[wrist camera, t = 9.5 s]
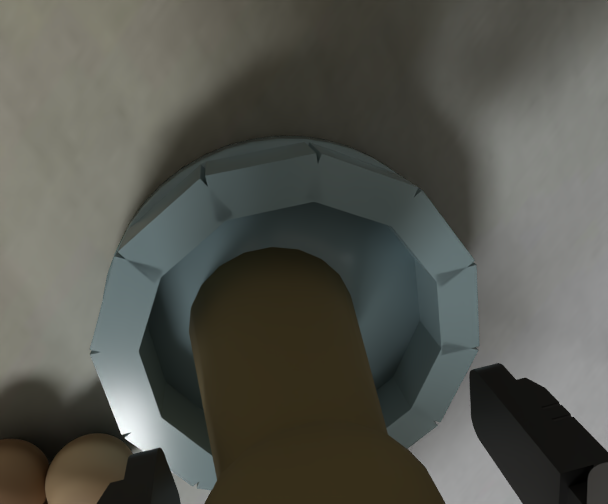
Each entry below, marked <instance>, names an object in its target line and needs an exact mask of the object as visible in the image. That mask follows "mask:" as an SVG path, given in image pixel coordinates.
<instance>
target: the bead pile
mask: <svg viewBox="0 0 608 504" xmlns="http://www.w3.org/2000/svg"><path fill="white" fill-rule="evenodd" d="M132 454H133V453H132V452H131V450H130V449H129V447H128V446H127V445H126V444H125V443H124V442H123V441H121V440H120V439H118V438H116V437H114V436H112V435H108V434H103V433H93V434H87V435H84V436H81V437H78V438H76V439H74V440H72V441H71V442H70V443H68V444H67V445H65V446H64V447H63V448H62V449H61V450H60V451H59V452H58V453H57V455H56V456H55V457H54V459H53V461H52V462H51V464H50V465H49V462H48V460H47V458H46V456H45V455H44V453H43V452H42V451H41V450H40V449H39V448H38V447H37V446H35V445H33V444H32V443H30V442H27V441H24V440H20V439H2V440H0V504H97V502H98V500H99V499H100V497H101V496H102V494H103V493H104V491H105V490H106V488H107V487H108V485H109V484H110V483H111V482H115V481H119V480H123V479H124V476H125V470H126V465H127V460H128V457H129V456H130V455H132Z"/></svg>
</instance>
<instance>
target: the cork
mask: <svg viewBox="0 0 608 504" xmlns="http://www.w3.org/2000/svg"><path fill="white" fill-rule="evenodd" d="M189 336H190V341H191V346H192V352H193V357H194V362H195V367H196V373H197V378H198V383H199V388H200V394H201V399H202V404H203V409H204V415H205V420H206V425H207V430H208V436H209V441H210V446H211V451H212V457H213V462H214V467H215V473H216V478H217V481H216V483H215V485H214V487H213V489H212V491H211V493H210V494H209V496H208V498H207V500H206V502H205V504H445V502H444V500H443V498H442V496H441V494H440V493H439V491H438V489H437V487H436V485H435V484H434V482H433V480H432V478H431V477H430V475H429V473H428V471H427V469H426V468H425V466H424V465H423V464H422V463H421V462H420V461H419V460H418V459H417V458H416V457H415V456H414V455H413V454H412V453H411V452H410V451H409V450H408V449H406V448H405V447H404V446H402V445H401V444H400V443H399V442H397V441H396V440H395V439H393V438H392V437H391V436H389V435H388V432H387V429H386V425H385V421H384V417H383V414H382V410H381V406H380V402H379V399H378V395H377V391H376V388H375V384H374V380H373V376H372V373H371V369H370V365H369V361H368V358H367V354H366V350H365V346H364V343H363V339H362V335H361V332H360V328H359V324H358V320H357V317H356V313H355V309H354V305H353V302H352V298H351V295H350V293H349V291H348V289H347V287H346V285H345V284H344V282H343V280H342V278H341V276H340V275H339V274H338V273H337V272H336V271H335V270H334V269H332V268H331V267H330V266H329V265H328V264H327V263H326V262H325V261H323V260H322V259H320V258H318V257H316V256H313V255H311V254H308V253H306V252H304V251H301V250H299V249H290V248H278V247H269V248H264V249H259V250H254V251H250V252H245V253H243V254H241V255H239V256H237V257H235V258H233V259H232V260H230V261H228V262H226V263H224V264H222V265H221V266H219V267H218V268H217V269H216V270H215V272H214V273H213V274H212V275H211V276H210V277H209V278H208V279H207V280H206V281H205V282H204V283H203V284H202V285H201V287H200V289H199V291H198V293H197V296H196V298H195V300H194V302H193V304H192V306H191V311H190V322H189Z"/></svg>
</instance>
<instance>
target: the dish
mask: <svg viewBox="0 0 608 504" xmlns="http://www.w3.org/2000/svg"><path fill="white" fill-rule="evenodd" d="M269 247H278V248H290V249H299V250H301V251H304V252H306V253H308V254H311V255H313V256H316V257H318V258H320V259H322V260H323V261H325V262H326V263H327V264H328V265H329V266H330V267H331V268H332V269H334V270H335V271H336V272H337V273H338V274H339V275H340V276H341V278H342V280H343V282H344V284H345V285H346V287H347V289H348V291H349V293H350V295H351V298H352V302H353V305H354V309H355V313H356V317H357V320H358V324H359V328H360V332H361V335H362V339H363V343H364V346H365V350H366V354H367V358H368V361H369V365H370V369H371V373H372V376H373V380H374V384H375V388H376V391H377V395H378V399H379V402H380V406H381V410H382V414H383V417H384V421H385V425H386V429H387V432H388V435H389V436H391V437H392V438H393V439H395V440H396V441H397V442H399V443H400V444H401V445H402V446H404V447H405V448H406V449H407V448H409V447H410V446H411V445H413V444H414V443H415V442H417V441H418V440H419V439H420V438H422V437H423V436H424V435H426V434H427V433H428V432H430V431H431V430H432V429H434V428H435V427H436V426H438V425H437V424H436V422H435V421H437V422H441V420H442V418H443V416H444V415H445V413H446V411H447V409H448V407H449V405H450V403H451V401H452V399H453V397H454V396H455V394H456V392H457V390H458V388H459V386H460V384H461V382H462V380H463V379H464V377H465V375H466V373H467V371H468V369H469V367H470V365H471V363H472V361H473V360H474V358H475V356H476V354H477V352H478V349H477V348H476V347H478V346H479V321H478V294H477V267H476V264H475V263H473V262H474V261H475V260H474V259H473V257H472V256H471V255H470V253H469V252H468V251H467V249H466V248H465V247H464V245H463V244H462V243H461V241H460V240H459V239H458V237H457V236H456V235H455V233H454V232H453V231H452V229H451V228H450V227H449V225H448V224H447V223H446V221H445V220H444V219H443V217H442V216H441V215H440V213H439V212H438V211H437V209H436V208H435V207H434V205H433V204H432V203H431V201H430V200H429V198H428V197H427V196H426V194H425V193H424V192H423V190H421V189H420V188H418V187H417V186H416V185H414V184H413V183H411V182H410V181H408V180H407V179H405V178H404V177H402V176H401V175H399V174H398V173H396V172H394V171H393V170H391V169H390V168H388V167H387V166H385V165H384V164H382V163H380V162H379V161H377V160H376V159H374V158H372V157H371V156H369V155H367V154H365V153H363V152H360V151H358V150H356V149H354V148H351V147H349V146H347V145H343V144H339V143H336V142H332V141H329V140H325V139H319V138H312V137H304V136H272V137H264V138H256V139H250V140H246V141H243V142H239V143H235V144H232V145H228V146H225V147H223V148H220V149H218V150H215V151H213V152H211V153H208V154H206V155H204V156H202V157H200V158H198V159H197V160H195V161H193V162H192V163H190V164H188V165H186V166H185V167H183V168H181V169H180V170H179V171H178V172H176V173H175V174H174V175H172V176H171V177H170V178H169V179H167V180H166V181H165V182H164V183H162V184H161V185H160V186H159V187H158V188H157V189H156V191H155V192H154V193H153V194H152V195H151V196H150V197H149V198H148V199H147V200H146V201H145V202H144V204H143V205H142V206H141V208H140V209H139V210H138V212H137V213H136V215H135V216H134V217H133V219H132V220H131V222H130V224H129V226H128V228H127V230H126V232H125V233H124V235H123V237H122V239H121V241H120V243H119V245H118V248H117V250H116V252H115V254H114V257H113V260H112V263H111V266H110V269H109V272H108V275H107V279H106V284H105V290H104V295H103V302H102V306H101V309H100V313H99V317H98V321H97V324H96V328H95V332H94V336H93V339H92V343H91V347H90V350H92V351H91V353H90V356H91V358H92V361H93V363H94V366H95V368H96V371H97V373H98V376H99V379H100V381H101V384H102V386H103V389H104V391H105V394H106V396H107V399H108V402H109V404H110V407H111V409H112V412H113V414H114V417H115V419H116V422H117V424H118V427H119V430H120V432H121V435H122V434H125V437H124V438H125V439H126V440H128V441H129V442H130V443H132V444H133V445H135V446H136V447H137V448H139V449H140V450H142V451H143V452H144V451H148V450H152V449H156V448H159V447H160V448H162V450H163V452H164V454H165V457H166V460H167V462H168V465H169V468H170V471H171V472H173V473H174V474H176V475H177V476H178V477H180V478H181V479H183V480H184V481H186V482H187V483H188V484H190V485H191V486H194V485H195V484H197V488H199V489H206V490H212V489H213V487H214V485H215V483H216V481H217V478H216V473H215V467H214V462H213V457H212V451H211V446H210V441H209V436H208V430H207V425H206V420H205V415H204V409H203V404H202V399H201V394H200V388H199V383H198V378H197V373H196V367H195V362H194V357H193V352H192V346H191V341H190V336H189V322H190V311H191V306H192V304H193V302H194V300H195V298H196V296H197V293H198V291H199V289H200V287H201V285H202V284H203V283H204V282H205V281H206V280H207V279H208V278H209V277H210V276H211V275H212V274H213V273H214V272H215V270H216V269H217V268H218V267H219V266H221V265H222V264H224V263H226V262H228V261H230V260H232V259H233V258H235V257H237V256H239V255H241V254H243V253H245V252H250V251H254V250H259V249H264V248H269Z"/></svg>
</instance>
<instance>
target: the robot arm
mask: <svg viewBox="0 0 608 504" xmlns="http://www.w3.org/2000/svg"><path fill="white" fill-rule="evenodd" d="M470 401H471V418H472V423H473V426H474V429H475V432H476V434H477V436H478V438H479V440H480V442H481V443H482V444H483V446H484V447H485V449H486V450H487V452H488V453H489V455H490V456H491V458H492V459H493V461H494V462H495V463H496V465H497V466H498V468H499V469H500V471H501V472H502V474H503V475H504V477H505V478H506V480H507V481H508V483H509V484H510V485H511V487H512V488H513V490H514V491H515V493H516V494H517V496H518V497H519V499H520V500H521V502H522V503H523V504H608V452H607V451H606V450H605V449H604V448H603V447H602V446H601V445H600V444H599V443H598V442H597V441H596V440H595V439H594V437H593V436H592V435H591V434H590V433H589V432H588V431H587V430H586V429H585V428H584V427H583V426H582V425H581V424H580V423H579V422H578V421H577V420H576V419H575V418H574V417H571V415H570V413H569V412H568V411H567V410H566V409H565V408H564V407H563V406H562V405H560V404H559V402H558V401H557V400H556V399H555V398H554V397H553V396H552V395H551V393H550V392H549V391H548V390H547V389H546V388H544V387H542V386H540V385H539V384H537V383H535V382H533V381H531V380H529V379H527V378H522V379H518V380H516V379H515V378H514V377H513V376H512V375H511V374H510V372H509V371H508V370H507V369H506V368H505V367H504V366H503V365H502V364H500V363H497V364H493V365H489V366H485V367H481V368H477V369H473V370H471V371H470ZM97 504H181V503H180V498H179V493H178V490H177V487H176V485H175V482H174V479H173V476H172V474H171V471H170V468H169V465H168V462H167V460H166V457H165V454H164V452H163V450H162V448H160V447H159V448H156V449H152V450H148V451H144V452H140V453H136V454H132V455H130V456H129V457H128V460H127V465H126V470H125V476H124V479H123V480H119V481H115V482H111V483H110V484H109V485H108V487H107V488H106V490H105V491H104V493H103V494H102V496H101V497H100V499H99V500H98V502H97Z"/></svg>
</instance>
